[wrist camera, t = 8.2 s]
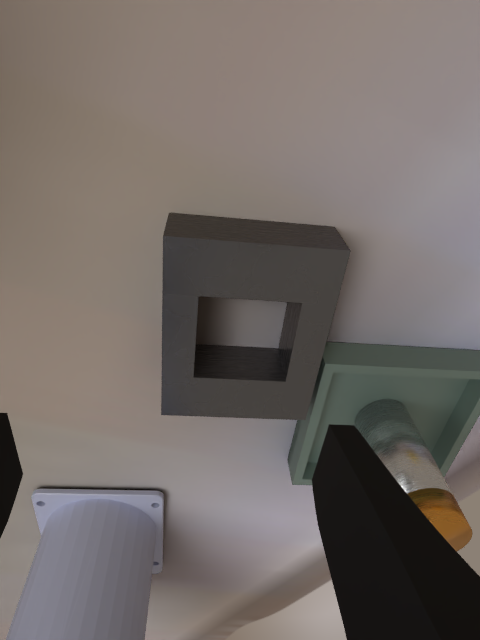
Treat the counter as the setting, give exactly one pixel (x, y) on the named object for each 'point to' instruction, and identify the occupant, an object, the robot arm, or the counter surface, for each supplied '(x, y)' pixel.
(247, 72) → the counter surface
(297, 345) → the block
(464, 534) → the small bottle
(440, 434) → the tray
